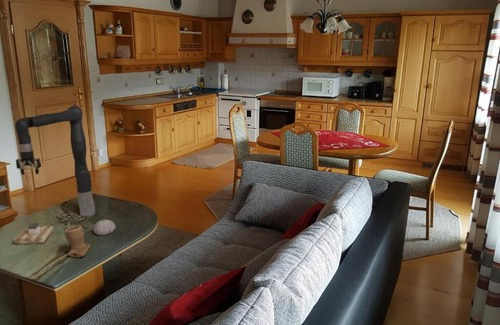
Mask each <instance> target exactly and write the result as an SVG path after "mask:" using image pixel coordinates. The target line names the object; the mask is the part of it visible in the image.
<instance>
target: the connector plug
mask: <svg viewBox="0 0 500 325" xmlns="http://www.w3.org/2000/svg"><path fill="white" fill-rule="evenodd" d="M27 227H28V230H29V235H38V234H39V233H40V227H41V226H40V222H39V223H37V222H36V223H35V222H34V223H33V222H31V223H30V224H29V225H28V226H27Z"/></svg>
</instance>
